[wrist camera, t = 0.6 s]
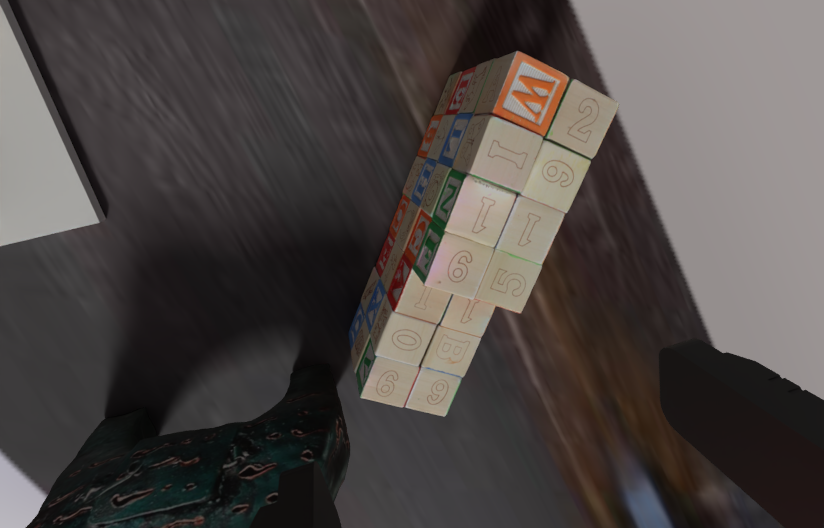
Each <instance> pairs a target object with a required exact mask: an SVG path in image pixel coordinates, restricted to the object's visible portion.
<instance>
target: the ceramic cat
mask: <svg viewBox="0 0 824 528" xmlns="http://www.w3.org/2000/svg"><path fill="white" fill-rule="evenodd" d="M349 457H350V442H349V438H348V434H347V427H346V423H345V419H344V416H343V411H342V406H341V402H340V399H339V397H338V393H337V388H336V386H335V383H334V380H333V377H332V374H331V370H330V366H329V364H323V365H315V366H310V367H306V368H303V369H300V370H298V371H297V372H293V373H291V376H290V386H289V388H288V390H287V393H286V395H285V397H284V398H283V399H282V400H281V401H280V402H279V403H278V404H277V405H275V406H274V407H273V408H272V409H270V410H269V411H267V412H266V413H264V414H263V415H261V416H260V417H258V418H256V419H254V420H252V421H248V422H237V423H229V424H225V425H222V426H219V427H215V428H209V429H199V430H192V431H183V432H178V433H172V434H167V435H162V436H156V432H155V428H154V426H153V424H152V422H151V421H150V419H149V417H148V415H147V412H146V408H142V409H138V410H136V411H134V412H131V413H129V414H126V415H122V416H117V417H111V418H107V419H104V420H103V421H102V422H101V423H100V424H99V425H98V427H97V428H96V429H95V430H94V432H93V433H92V434H91V435H90V436H89V437H88V439H87V440H86V442H85V443H84V445H83V446H82V448H81V449H80V451H79V452H78V454H77V456H76V458H75V459H74V460H73V461H72V462H71V463H70V464H69V466H68V467H67V468H66V469H65V470H64V471H63V472H62V473H61V475H60V476H59V477H58V478H57V480H56V482H55V483H54V485H53V487H52V488H51V491H50V493H49V495H48V496H47V498H46V499H45V501H44V503H43V504H42V507H41V508H40V511H39V513H38V515H37V516H36V517H35V518H34V519H33V521H32V522H31V523H30V524H29V525H28V526H27V527H26V528H249V526H250V525H251V523H252V521H253V519H254V517H255V515H256V514H257V512H258V510H259V508H260V507H263V506H266V505H269V504H272V503H275V502H277V496H278V486H279V477H280V474H281V472H284V471H287V470H290V469H293V468H296V467H299V466H302V465H305V464H308V463H311V462H314V461H317V463H318V464H319V466H320V468H321V471H322V474H323V476H324V479H325V481H326V484H327V487H328V489H329V492H330V494H331V497H332V500H333V502H334V501H335V498H336V496H337V493H338V491H339V488H340V487H341V485H342V483H343V481H344V480H345V475H346V471H347V467H348V462H349Z"/></svg>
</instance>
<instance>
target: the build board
mask: <svg viewBox="0 0 824 528" xmlns="http://www.w3.org/2000/svg"><path fill="white" fill-rule="evenodd" d="M104 220H106V218H105V216H104V213H103V211H102V209H101V207H100V205H99V202H98V200H97V198H96V196H95V193H94V191H93V189H92V187H91V185H90V182H89V180H88V178H87V176H86V173H85V171H84V169H83V167H82V165H81V162H80V160H79V158H78V156H77V153H76V151H75V149H74V147H73V145H72V142H71V140H70V138H69V136H68V133H67V131H66V129H65V127H64V125H63V122H62V120H61V118H60V116H59V113H58V111H57V109H56V107H55V105H54V102H53V100H52V98H51V96H50V93H49V91H48V89H47V87H46V85H45V82H44V80H43V78H42V76H41V73H40V71H39V69H38V67H37V65H36V62H35V60H34V58H33V56H32V53H31V51H30V49H29V47H28V45H27V42H26V40H25V38H24V36H23V33H22V31H21V29H20V27H19V25H18V22H17V20H16V18H15V16H14V13H13V11H12V9H11V7H10V5H9V2H8V0H0V246H2V245H7V244H11V243H15V242H19V241H24V240H28V239H32V238H36V237H41V236H45V235H49V234H53V233H58V232H62V231H66V230H70V229H74V228H79V227H83V226H87V225H91V224H96V223H100V222H102V221H104Z"/></svg>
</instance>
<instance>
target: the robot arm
mask: <svg viewBox="0 0 824 528" xmlns="http://www.w3.org/2000/svg"><path fill="white" fill-rule="evenodd" d="M659 373H660V401H661V407H662V410H663V413H664V415H665V417H666V419H667V421H668V422H669V424H670V425H671V426H672V427H673V428H674V429H675V430H676V431H677V432H678V433H679V434H680V435H681V436H682V437H683V438H684V439H686V440H687V441H688V442H689V443H690V444H691V445H692V446H693V447H695V448H696V449H697V450H698V451H699V452H700V453H701V454H702V455H704V456H705V457H706V458H707V459H708V460H709V461H710V462H711V463H713V464H714V465H715V466H716V467H717V468H718V469H719V470H720V471H722V472H723V473H724V474H725V475H726V476H727V477H728V478H729V479H731V480H732V481H733V482H734V483H735V484H736V485H737V486H738V487H740V488H741V489H742V490H743V491H744V492H745V493H746V494H747V495H749V496H750V497H751V498H752V499H753V500H754V501H755V502H757V503H758V504H759V505H760V506H761V507H762V508H763V509H764V510H766V511H767V512H768V513H769V514H770V515H771V516H772V517H773V518H775V519H776V520H777V521H778V522H779V523H780V524H781V525H782V526H784V527H785V528H824V400H822V399H821V398H819V397H817V396H815V395H814V394H812V393H810V392H808V391H807V390H804V391H803V390H801V388H800V387H799V386H798V385H796V384H794V383H793V382H791V381H789V380H787V379H786V378H783V379H782V378H781V377H780V375H779V374H776V373H775V372H773V371H772V370H770V369H768V368H766V367H765V366H763V365H761V364H759V363H758V362H756V361H753V360H750V359H746V358H743V357H740V356H737V355H734V354H730V353H722V352H720V351H719V350H717V349H715V348H714V347H712V346H710V345H708V344H707V343H705V342H703V341H702V340H699V339H690V340H687V341H684V342H681V343H678V344H675V345H672V346H668V347H665V348H663V349H662V350H661V351H660V354H659ZM249 528H341V523H340V519H339V516H338V513H337V510H336V507H335V505H334V502H333V500H332V497H331V494H330V492H329V489H328V487H327V484H326V481H325V479H324V476H323V474H322V471H321V468H320V466H319V464H318V463H317V461H314V462H311V463H308V464H305V465H302V466H299V467H296V468H293V469H290V470H287V471H284V472H281V474H280V477H279V486H278V496H277V502H275V503H272V504H269V505H266V506H263V507H260V508H259V510H258V512H257V514H256V515H255V517H254V519H253V521H252V523H251V525H250V526H249Z"/></svg>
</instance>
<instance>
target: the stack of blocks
mask: <svg viewBox="0 0 824 528" xmlns="http://www.w3.org/2000/svg"><path fill="white" fill-rule="evenodd" d="M618 106H619V103H618V102H617V101H615V100H613V99H611V98H609V97H607V96H605V95H603V94H601V93H600V92H598V91H596V90H594V89H592V88H590V87H588V86H587V85H585V84H583V83H581V82H579V81H578V80H576V79H570V80H569V77H568V76H566V75H565V74H563V73H562V72H560V71H558V70H556V69H554V68H552V67H550V66H548V65H546V64H544V63H542V62H540V61H538V60H536V59H534V58H532V57H530V56H528V55H526V54H525V53H522V52H520V51H515V52H513V53H511V54H508V55H505V56H503V57H500V58H498V59H497V58H494V59H492V60H490V61H487V62H483V63H481V64H479V65H477V66H476V67H473V68H470V69H468V70H465V71H464V72H462V71H461V72H458V73H455V74H453V75H450V77H449V79H448V81H447V84H446V86H445V89H444V91H443V94H442V96H441V99H440V101H439V104H438V106H437V109H436V111H435V114H434V116H433V117H432V118H431V121H430V123H429V126H428V128H427V131H426V133H425V136H424V138H423V141H422V144H421V146H420V149H419V151H418V154H417V157H416V159H415V161H414V163H413V166H412V168H411V171H410V173H409V176H408V178H407V181H406V184H405V186H404V189H403V192H402V193H403V196H402V198H401V200H400V203H399V206H398V209H397V211H396V213H395V216H394V218H393V221H392V223H391V226H390V228H389V233H388V236H387V238H386V241H385V243H384V246H383V248H382V251H381V254H380V256H379V259H378V261H377V264H376V266H375V267H374V268H373V270H372V273H371V275H370V278H369V280H368V283H367V285H366V288H365V290H364V293H363V295H362V298H361V302H360V304H359V307H358V309H357V312H356V314H355V317H354V320H353V322H352V325H351V327H350V330H349V333H348V335H349V341H350V349H351V357H352V363H353V370H354V372H355V373H356V377H357V382H358V390H359V394H360V398H364V399H368V400H372V401H377V402H381V403H386V404H389V405H393V406H398V407H407V408H410V409H414V410H418V411H422V412H427V413H431V414H436V415H440V416H446V414H447V413H448V410H449V408H450V406H451V403H452V401H453V399H454V396H455V394H456V392H457V390H458V388H459V385H460V383H461V379H462V377H464V376H465V374H466V372H467V369H468V367H469V365H470V363H471V360H472V358H473V356H474V354H475V351H476V349H477V347H478V345H479V343H480V340H481V337H482V336H483V334H484V332H485V330H486V328H487V325H488V323H489V321H490V318H491V316H492V314H493V311H494V309H495V307H496V306H498V307H501V308H504V309H507V310H510V311H513V312H516V313H521V312H522V310H523V308H524V306H525V304H526V302H527V299H528V297H529V295H530V293H531V290H532V288H533V286H534V284H535V282H536V280H537V277H538V275H539V273H540V271H541V269H542V263H543V262H544V260H545V258H546V256H547V254H548V252H549V249H550V247H551V245H552V243H553V240H554V238H555V235H556V234H557V232H558V230H559V227H560V225H561V223H562V221H563V218H564V214H566V213H567V212H568V210H569V208H570V206H571V204H572V202H573V200H574V198H575V196H576V193H577V191H578V189H579V187H580V185H581V183H582V181H583V178H584V176H585V174H586V172H587V170H588V168H589V165H590V163H591V161H590V160H591V159H592V158H593V157H594V156H595V155H596V153H597V151H598V149H599V147H600V145H601V142H602V140H603V138H604V136H605V134H606V132H607V130H608V128H609V126H610V124H611V122H612V120H613V118H614V115H615V113H616V111H617V109H618Z"/></svg>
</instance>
